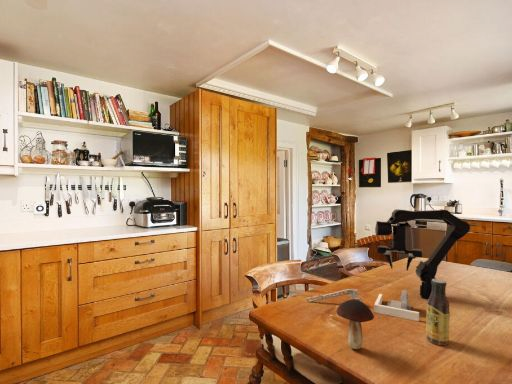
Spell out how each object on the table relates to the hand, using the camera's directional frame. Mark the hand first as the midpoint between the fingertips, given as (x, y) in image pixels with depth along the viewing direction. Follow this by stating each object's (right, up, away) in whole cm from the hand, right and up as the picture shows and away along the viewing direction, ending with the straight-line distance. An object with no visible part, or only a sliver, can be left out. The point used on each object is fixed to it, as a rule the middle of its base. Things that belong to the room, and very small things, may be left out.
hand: (399, 269), depth 132 cm
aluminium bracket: (-8, -12, -16) cm, 21 cm away
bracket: (-34, -12, -10) cm, 37 cm away
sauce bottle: (-9, -12, -41) cm, 44 cm away
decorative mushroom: (-37, -12, -45) cm, 60 cm away
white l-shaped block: (-9, -12, -17) cm, 23 cm away
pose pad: (-8, -12, -16) cm, 22 cm away
